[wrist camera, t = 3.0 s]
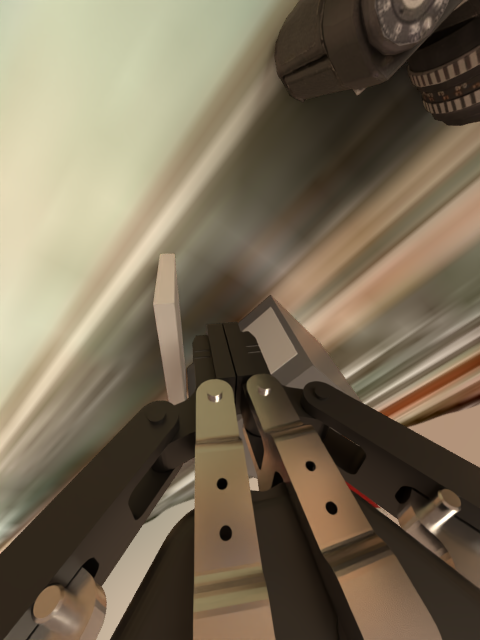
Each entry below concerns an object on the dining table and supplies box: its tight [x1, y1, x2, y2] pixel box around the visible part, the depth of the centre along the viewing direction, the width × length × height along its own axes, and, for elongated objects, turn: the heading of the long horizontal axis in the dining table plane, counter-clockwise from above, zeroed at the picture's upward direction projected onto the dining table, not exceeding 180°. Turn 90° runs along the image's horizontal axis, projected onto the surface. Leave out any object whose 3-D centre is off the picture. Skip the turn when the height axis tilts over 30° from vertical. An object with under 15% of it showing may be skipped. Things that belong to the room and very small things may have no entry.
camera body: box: [187, 295, 362, 479], centre depth 24 cm, size 9×13×10 cm
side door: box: [153, 254, 187, 405], centre depth 19 cm, size 1×12×8 cm, turn 178°
